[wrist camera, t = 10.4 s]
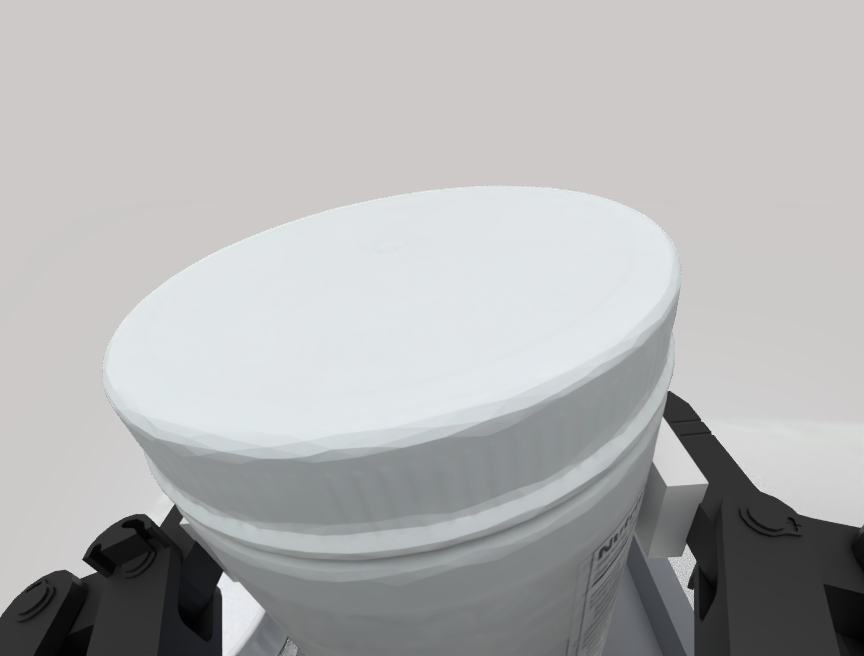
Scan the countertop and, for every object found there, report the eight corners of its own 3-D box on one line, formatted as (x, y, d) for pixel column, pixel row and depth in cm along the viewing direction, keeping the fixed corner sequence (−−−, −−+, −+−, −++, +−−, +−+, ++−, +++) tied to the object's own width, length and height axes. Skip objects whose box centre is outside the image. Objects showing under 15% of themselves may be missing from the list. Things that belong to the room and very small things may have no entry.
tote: (601, 471, 25) (605, 431, 23) (919, 1216, 9) (1036, 1312, 6) (363, 492, 27) (347, 457, 25) (236, 1137, 10) (156, 1191, 8)
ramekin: (313, 531, 26) (290, 493, 23) (298, 706, 18) (261, 675, 16) (183, 569, 25) (146, 534, 23) (111, 766, 17) (45, 743, 15)
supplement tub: (296, 689, 13) (-56, 365, 5) (414, 470, 20) (332, 192, 12) (592, 894, 9) (858, 746, 1) (612, 527, 16) (671, 164, 8)
